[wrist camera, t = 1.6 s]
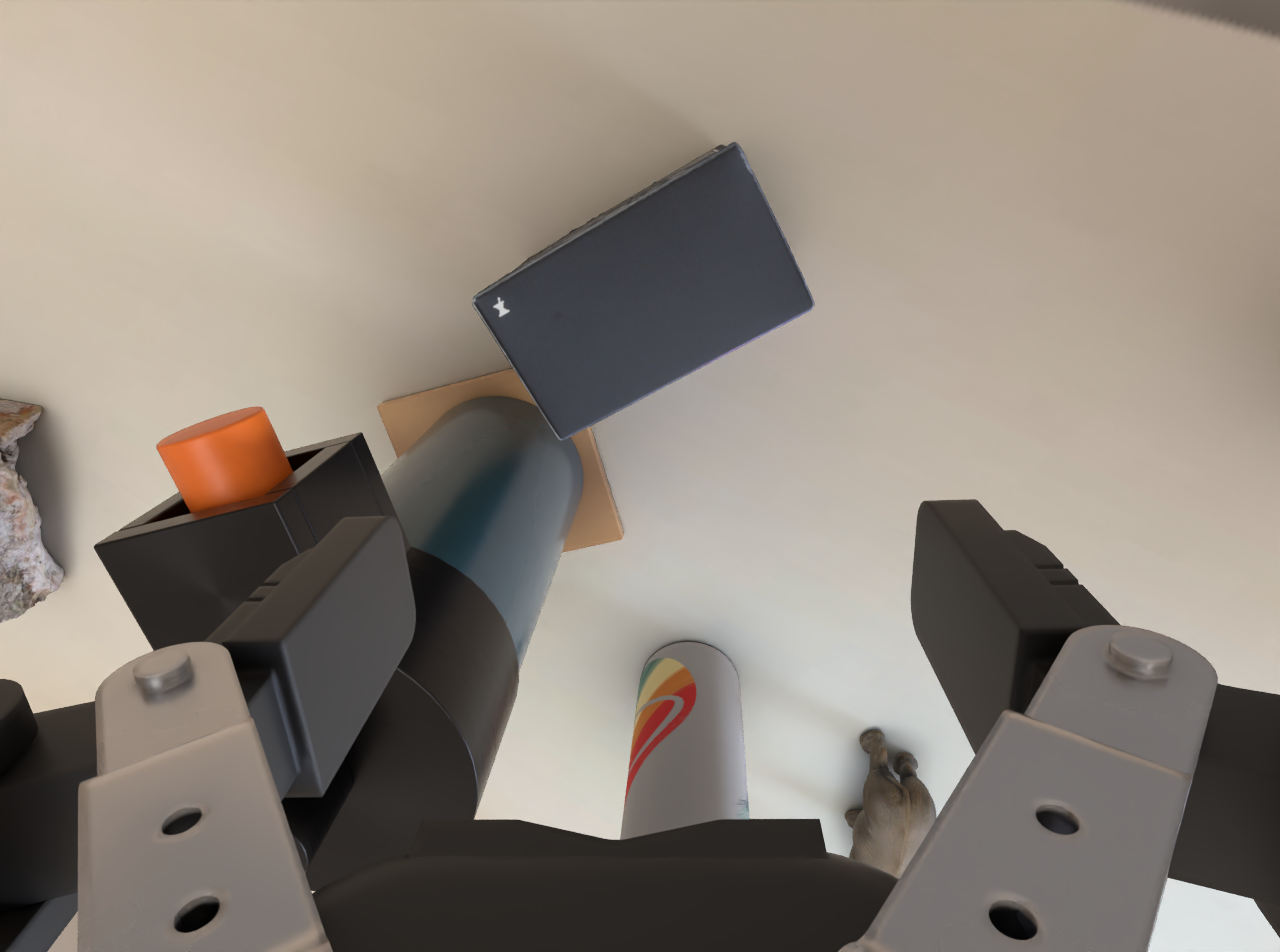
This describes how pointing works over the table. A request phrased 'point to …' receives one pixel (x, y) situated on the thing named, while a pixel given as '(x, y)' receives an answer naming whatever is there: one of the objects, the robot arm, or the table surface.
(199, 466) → the button
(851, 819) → the rhino figurine
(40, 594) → the geological specimen
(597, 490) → the coaster
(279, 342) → the table surface
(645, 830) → the lotion bottle
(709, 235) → the small box
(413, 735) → the drink bottle
